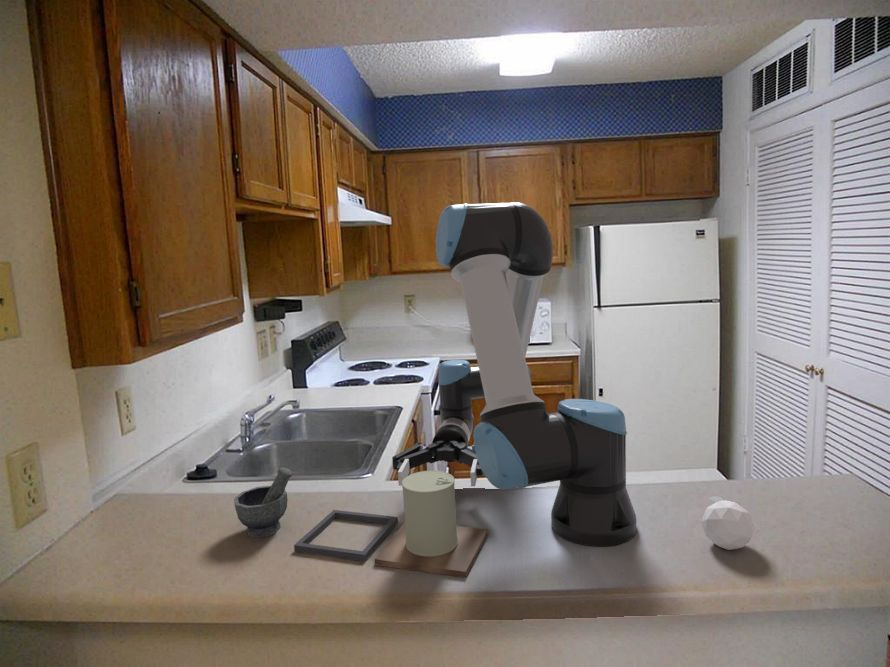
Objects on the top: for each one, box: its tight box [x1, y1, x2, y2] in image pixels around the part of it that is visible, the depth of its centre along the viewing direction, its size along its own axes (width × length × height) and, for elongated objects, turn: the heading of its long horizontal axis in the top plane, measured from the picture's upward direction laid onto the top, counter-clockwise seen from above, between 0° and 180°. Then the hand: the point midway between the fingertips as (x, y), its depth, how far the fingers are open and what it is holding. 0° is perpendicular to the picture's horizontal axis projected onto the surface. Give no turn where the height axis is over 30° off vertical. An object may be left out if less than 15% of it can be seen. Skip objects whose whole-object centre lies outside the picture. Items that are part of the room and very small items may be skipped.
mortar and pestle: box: [233, 467, 293, 539], centre depth 109 cm, size 11×9×12 cm
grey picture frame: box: [293, 509, 399, 562], centre depth 105 cm, size 14×14×1 cm
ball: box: [701, 500, 756, 551], centre depth 95 cm, size 8×8×8 cm
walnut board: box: [373, 522, 489, 578], centre depth 99 cm, size 16×14×1 cm
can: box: [402, 470, 458, 557], centre depth 98 cm, size 9×9×12 cm
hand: (436, 479), depth 105 cm, fingers open, 13 cm apart
